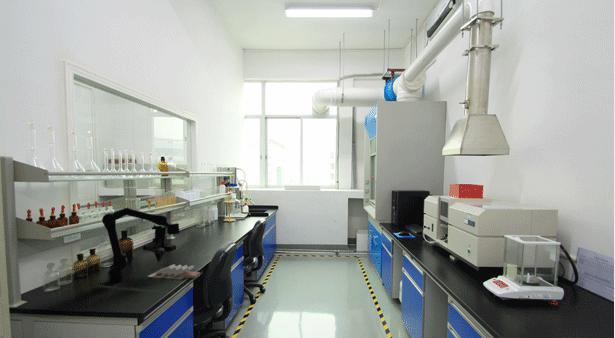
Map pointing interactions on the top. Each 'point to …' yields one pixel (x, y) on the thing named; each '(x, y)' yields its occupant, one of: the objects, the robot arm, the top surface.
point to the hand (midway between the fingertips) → (158, 261)
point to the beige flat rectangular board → (166, 276)
